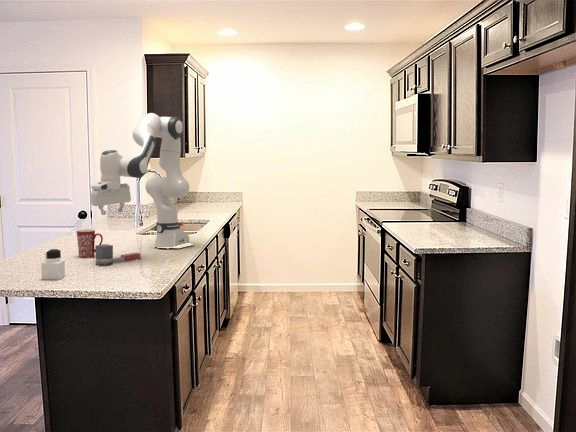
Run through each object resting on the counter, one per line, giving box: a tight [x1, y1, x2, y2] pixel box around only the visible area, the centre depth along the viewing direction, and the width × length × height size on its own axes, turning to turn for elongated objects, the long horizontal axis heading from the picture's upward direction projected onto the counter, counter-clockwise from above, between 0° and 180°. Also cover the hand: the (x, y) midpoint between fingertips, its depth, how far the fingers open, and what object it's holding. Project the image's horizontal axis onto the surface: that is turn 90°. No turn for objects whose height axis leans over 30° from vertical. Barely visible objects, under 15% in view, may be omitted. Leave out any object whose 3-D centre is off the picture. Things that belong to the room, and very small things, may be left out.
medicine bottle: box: [40, 248, 66, 281], centre depth 234 cm, size 7×7×12 cm
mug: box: [75, 228, 104, 259], centre depth 280 cm, size 13×9×14 cm
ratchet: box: [95, 252, 141, 267], centre depth 269 cm, size 23×8×8 cm, turn 142°
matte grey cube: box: [94, 243, 114, 260], centre depth 263 cm, size 6×6×6 cm
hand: (112, 213), depth 268 cm, fingers open, 8 cm apart
